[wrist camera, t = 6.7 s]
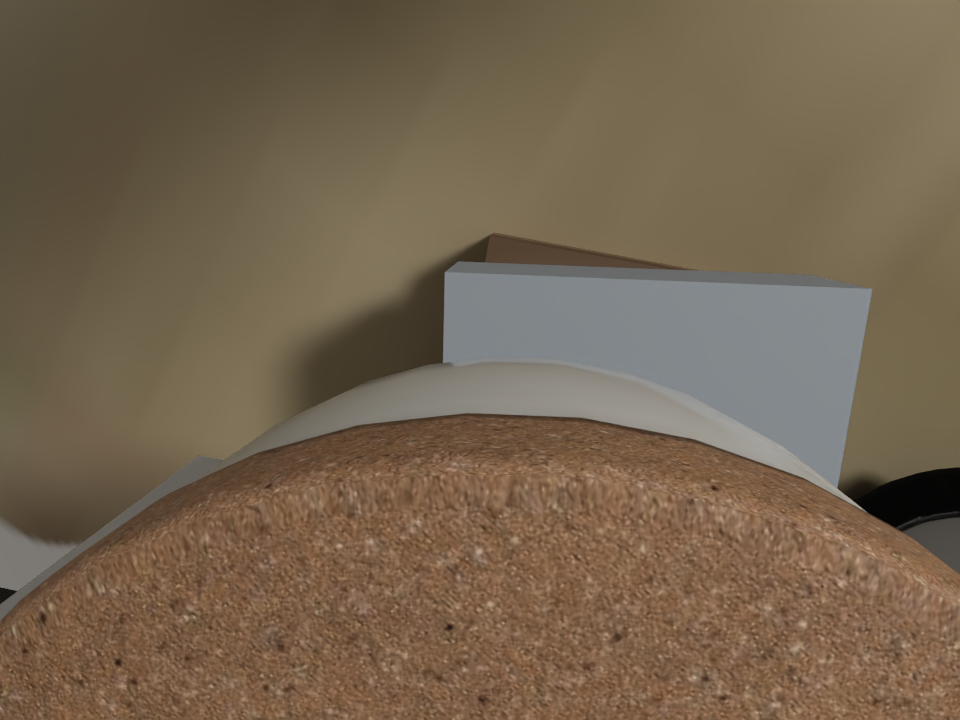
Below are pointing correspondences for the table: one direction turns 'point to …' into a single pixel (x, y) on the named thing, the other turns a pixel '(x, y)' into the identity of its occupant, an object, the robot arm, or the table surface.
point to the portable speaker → (922, 510)
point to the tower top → (681, 338)
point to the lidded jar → (495, 572)
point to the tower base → (558, 255)
